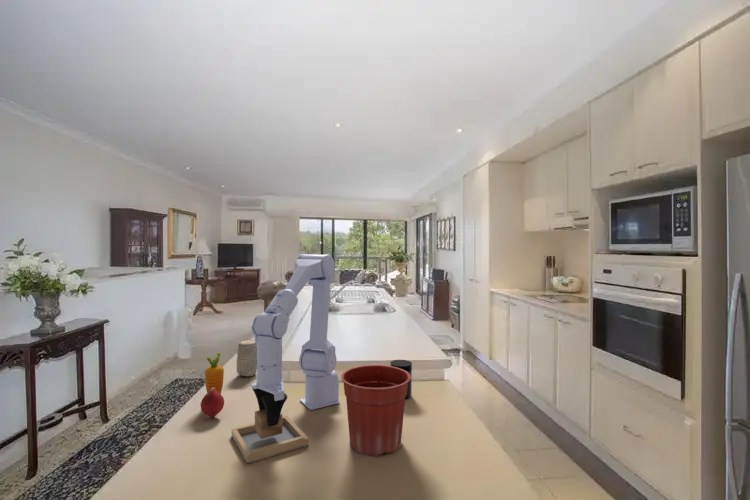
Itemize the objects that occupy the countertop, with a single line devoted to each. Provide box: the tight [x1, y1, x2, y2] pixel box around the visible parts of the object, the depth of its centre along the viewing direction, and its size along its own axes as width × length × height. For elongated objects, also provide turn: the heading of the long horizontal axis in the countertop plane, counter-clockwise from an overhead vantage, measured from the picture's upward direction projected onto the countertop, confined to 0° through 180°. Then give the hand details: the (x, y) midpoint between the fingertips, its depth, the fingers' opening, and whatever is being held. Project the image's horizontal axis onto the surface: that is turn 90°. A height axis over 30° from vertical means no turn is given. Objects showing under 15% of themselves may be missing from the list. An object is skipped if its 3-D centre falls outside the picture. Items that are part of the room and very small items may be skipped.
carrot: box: [204, 352, 225, 395], centre depth 111 cm, size 5×5×15 cm
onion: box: [200, 388, 225, 419], centre depth 103 cm, size 6×6×8 cm
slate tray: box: [231, 414, 309, 465], centre depth 91 cm, size 14×14×2 cm
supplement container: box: [389, 359, 413, 401], centre depth 119 cm, size 7×7×10 cm
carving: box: [236, 339, 257, 377], centre depth 137 cm, size 6×8×12 cm
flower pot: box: [340, 364, 411, 456], centre depth 91 cm, size 16×16×16 cm
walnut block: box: [254, 409, 283, 439], centre depth 91 cm, size 5×5×4 cm
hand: (269, 420), depth 91 cm, fingers closed on walnut block, 5 cm apart
